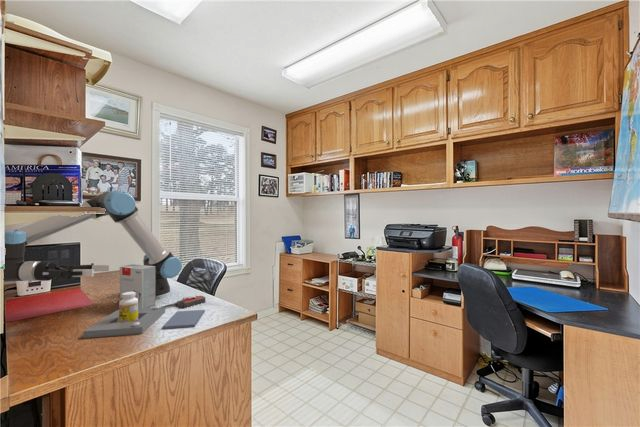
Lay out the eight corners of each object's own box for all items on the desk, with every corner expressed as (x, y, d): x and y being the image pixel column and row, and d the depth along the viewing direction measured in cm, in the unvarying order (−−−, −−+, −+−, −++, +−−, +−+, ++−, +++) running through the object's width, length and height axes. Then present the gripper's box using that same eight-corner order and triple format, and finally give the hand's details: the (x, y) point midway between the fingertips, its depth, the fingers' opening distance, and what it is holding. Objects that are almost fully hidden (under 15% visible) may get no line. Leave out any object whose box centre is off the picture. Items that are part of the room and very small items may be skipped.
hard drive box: (119, 307, 140) (118, 266, 140) (133, 302, 147) (133, 264, 147) (142, 310, 135) (142, 268, 135) (156, 305, 142) (156, 265, 142)
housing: (117, 315, 128) (117, 307, 128) (165, 312, 131) (165, 304, 131) (83, 338, 104) (83, 328, 104) (142, 333, 108) (142, 324, 108)
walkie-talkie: (199, 299, 152) (160, 310, 136) (199, 291, 152) (160, 300, 136) (208, 302, 147) (168, 313, 131) (208, 294, 147) (168, 304, 131)
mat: (176, 313, 130) (177, 311, 130) (204, 311, 132) (204, 309, 132) (162, 329, 112) (162, 326, 112) (194, 326, 114) (194, 324, 114)
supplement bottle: (115, 325, 116) (115, 294, 117) (132, 319, 122) (132, 290, 122) (124, 328, 113) (124, 296, 113) (141, 322, 119) (141, 292, 119)
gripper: (59, 275, 123) (115, 274, 128) (13, 287, 99) (84, 285, 104) (60, 258, 124) (116, 258, 129) (14, 265, 100) (85, 265, 105)
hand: (101, 270), depth 117 cm, fingers open, 13 cm apart
